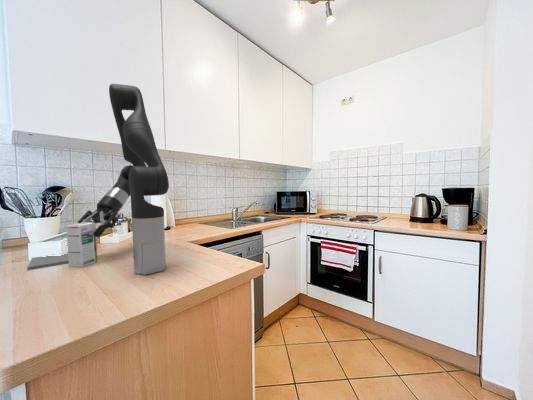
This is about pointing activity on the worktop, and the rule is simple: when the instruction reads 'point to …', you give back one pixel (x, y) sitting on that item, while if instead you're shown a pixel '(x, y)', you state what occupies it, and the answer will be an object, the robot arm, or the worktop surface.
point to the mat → (48, 261)
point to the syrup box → (81, 244)
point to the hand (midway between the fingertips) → (86, 235)
